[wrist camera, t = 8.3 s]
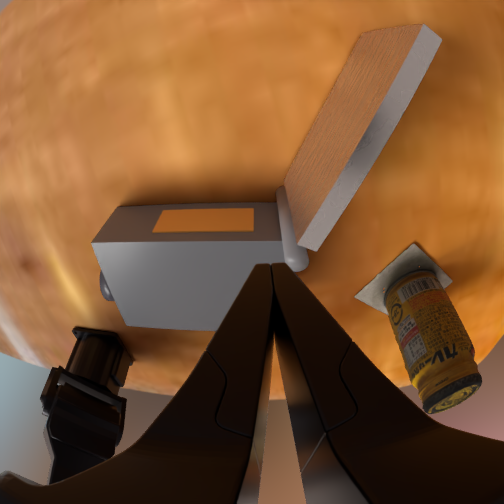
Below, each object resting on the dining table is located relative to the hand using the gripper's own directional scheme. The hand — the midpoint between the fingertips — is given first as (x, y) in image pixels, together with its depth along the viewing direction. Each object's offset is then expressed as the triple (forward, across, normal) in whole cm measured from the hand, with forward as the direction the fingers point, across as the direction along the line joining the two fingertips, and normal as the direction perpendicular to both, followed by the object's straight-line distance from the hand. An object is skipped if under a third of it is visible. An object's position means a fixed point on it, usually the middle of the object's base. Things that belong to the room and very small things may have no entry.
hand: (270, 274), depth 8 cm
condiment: (+12, -14, +12) cm, 22 cm away
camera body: (+12, +5, +7) cm, 14 cm away
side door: (+11, -5, -3) cm, 12 cm away
